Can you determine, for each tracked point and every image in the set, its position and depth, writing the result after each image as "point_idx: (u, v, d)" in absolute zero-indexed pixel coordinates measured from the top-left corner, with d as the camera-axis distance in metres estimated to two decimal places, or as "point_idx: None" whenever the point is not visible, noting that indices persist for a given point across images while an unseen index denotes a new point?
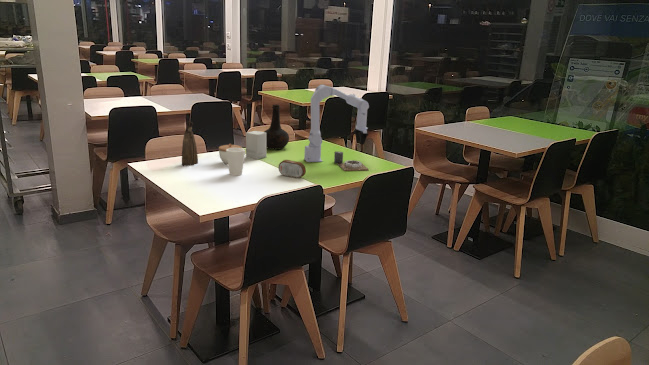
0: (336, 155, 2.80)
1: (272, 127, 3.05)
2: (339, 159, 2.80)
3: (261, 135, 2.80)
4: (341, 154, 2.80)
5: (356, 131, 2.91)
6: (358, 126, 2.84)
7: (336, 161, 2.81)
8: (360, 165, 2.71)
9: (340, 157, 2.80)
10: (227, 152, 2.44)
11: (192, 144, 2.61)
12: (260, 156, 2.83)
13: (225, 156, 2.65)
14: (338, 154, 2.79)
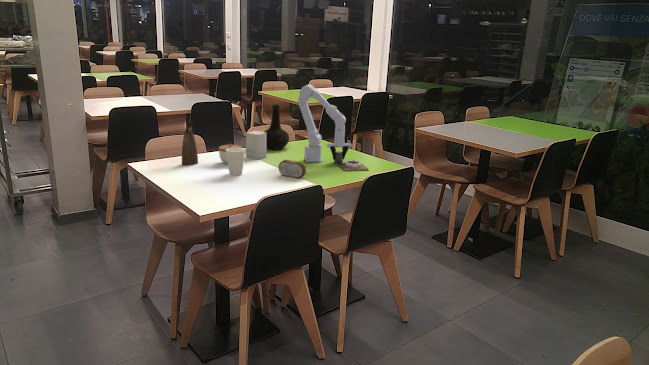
0: (336, 155, 2.80)
1: (272, 127, 3.05)
2: (339, 159, 2.80)
3: (261, 135, 2.80)
4: (341, 154, 2.80)
5: (342, 147, 2.83)
6: None
7: (336, 161, 2.81)
8: (360, 165, 2.71)
9: (340, 157, 2.80)
10: (227, 152, 2.44)
11: (192, 144, 2.61)
12: (260, 156, 2.83)
13: (225, 156, 2.65)
14: (338, 154, 2.79)
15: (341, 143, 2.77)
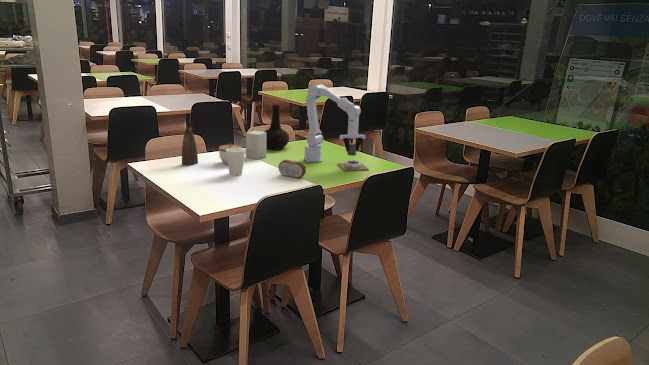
0: (349, 147, 2.69)
1: (272, 127, 3.05)
2: (352, 151, 2.69)
3: (261, 135, 2.80)
4: (355, 146, 2.69)
5: (356, 139, 2.72)
6: None
7: (349, 153, 2.70)
8: (360, 165, 2.71)
9: (354, 149, 2.69)
10: (227, 152, 2.44)
11: (192, 144, 2.61)
12: (260, 156, 2.83)
13: (225, 156, 2.65)
14: (351, 146, 2.69)
15: (355, 134, 2.66)
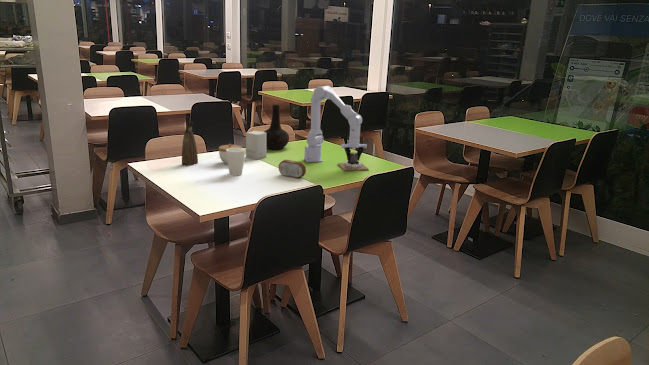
0: (351, 156, 2.69)
1: (272, 127, 3.05)
2: (353, 160, 2.69)
3: (261, 135, 2.80)
4: (356, 155, 2.69)
5: (357, 148, 2.72)
6: None
7: (351, 162, 2.70)
8: (360, 165, 2.71)
9: (355, 159, 2.69)
10: (227, 152, 2.44)
11: (192, 144, 2.61)
12: (260, 156, 2.83)
13: (225, 156, 2.65)
14: (353, 155, 2.69)
15: (356, 144, 2.67)
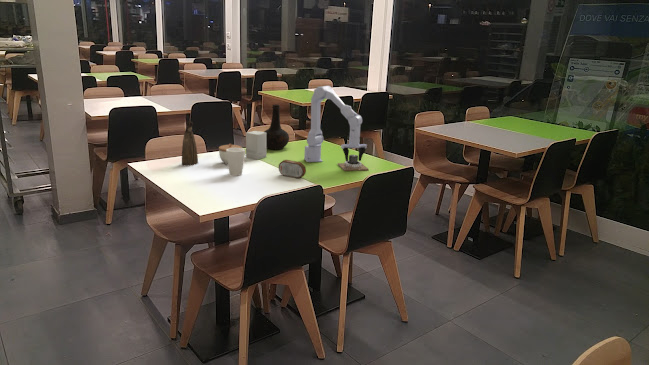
0: (351, 158, 2.70)
1: (272, 127, 3.05)
2: (353, 162, 2.70)
3: (261, 135, 2.80)
4: (356, 157, 2.70)
5: (359, 148, 2.73)
6: None
7: None
8: (360, 165, 2.71)
9: (355, 161, 2.70)
10: (227, 152, 2.44)
11: (192, 144, 2.61)
12: (260, 156, 2.83)
13: (225, 156, 2.65)
14: (353, 158, 2.69)
15: (356, 144, 2.67)
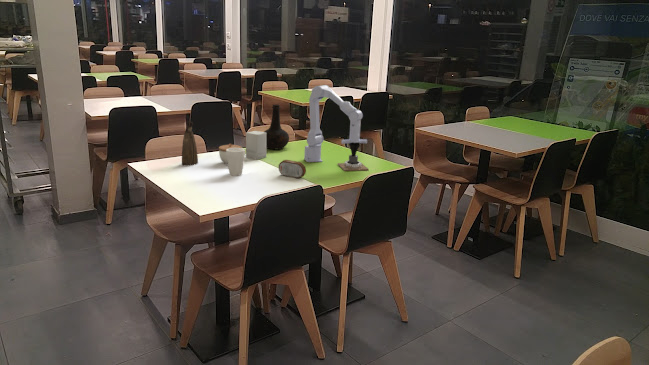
0: (351, 158, 2.70)
1: (272, 127, 3.05)
2: (353, 162, 2.70)
3: (261, 135, 2.80)
4: (356, 157, 2.70)
5: None
6: None
7: None
8: (360, 165, 2.71)
9: (355, 161, 2.70)
10: (227, 152, 2.44)
11: (192, 144, 2.61)
12: (260, 156, 2.83)
13: (225, 156, 2.65)
14: (353, 158, 2.69)
15: (356, 139, 2.66)
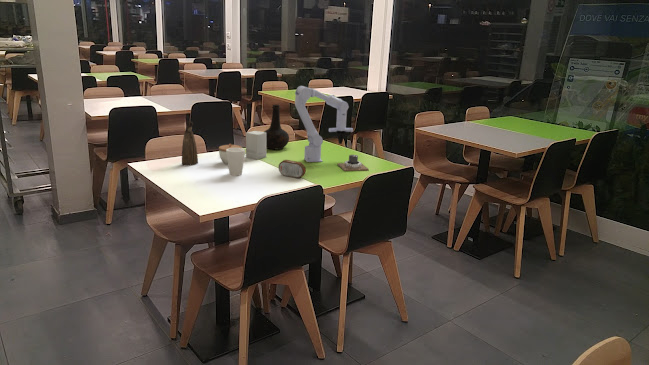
0: (351, 158, 2.70)
1: (272, 127, 3.05)
2: (353, 162, 2.70)
3: (261, 135, 2.80)
4: (356, 157, 2.70)
5: None
6: None
7: None
8: (360, 165, 2.71)
9: (355, 161, 2.70)
10: (227, 152, 2.44)
11: (192, 144, 2.61)
12: (260, 156, 2.83)
13: (225, 156, 2.65)
14: (353, 158, 2.69)
15: (343, 127, 2.83)
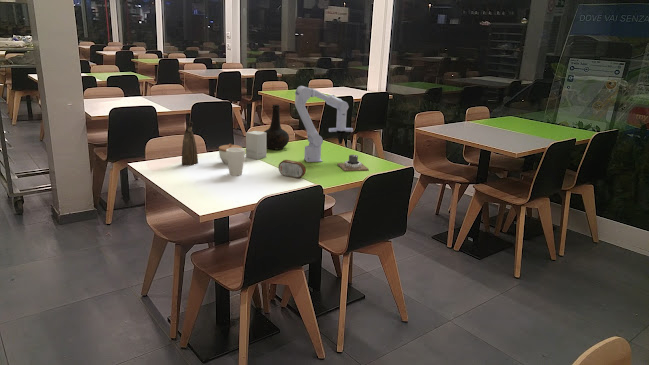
0: (351, 158, 2.70)
1: (272, 127, 3.05)
2: (353, 162, 2.70)
3: (261, 135, 2.80)
4: (356, 157, 2.70)
5: None
6: None
7: None
8: (360, 165, 2.71)
9: (355, 161, 2.70)
10: (227, 152, 2.44)
11: (192, 144, 2.61)
12: (260, 156, 2.83)
13: (225, 156, 2.65)
14: (353, 158, 2.69)
15: (343, 127, 2.83)
